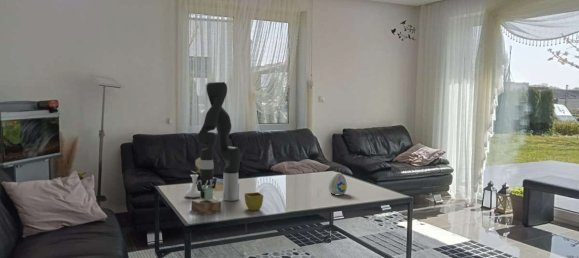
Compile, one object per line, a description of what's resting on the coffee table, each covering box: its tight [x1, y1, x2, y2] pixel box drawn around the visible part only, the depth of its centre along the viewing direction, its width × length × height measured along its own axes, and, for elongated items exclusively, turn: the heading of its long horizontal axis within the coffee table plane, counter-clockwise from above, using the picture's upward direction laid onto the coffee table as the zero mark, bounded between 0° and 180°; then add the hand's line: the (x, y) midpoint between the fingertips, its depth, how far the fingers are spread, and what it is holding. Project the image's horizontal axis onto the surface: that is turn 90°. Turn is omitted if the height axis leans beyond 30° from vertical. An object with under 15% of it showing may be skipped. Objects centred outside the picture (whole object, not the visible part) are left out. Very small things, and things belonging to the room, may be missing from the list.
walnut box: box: [191, 198, 222, 216], centre depth 247 cm, size 12×12×6 cm
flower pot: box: [244, 191, 264, 212], centre depth 252 cm, size 9×9×9 cm
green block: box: [199, 186, 214, 200], centre depth 246 cm, size 5×5×6 cm
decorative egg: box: [328, 172, 348, 195], centre depth 296 cm, size 12×12×15 cm
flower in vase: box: [184, 157, 201, 198], centre depth 277 cm, size 13×11×25 cm
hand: (206, 197), depth 246 cm, fingers closed on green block, 4 cm apart
